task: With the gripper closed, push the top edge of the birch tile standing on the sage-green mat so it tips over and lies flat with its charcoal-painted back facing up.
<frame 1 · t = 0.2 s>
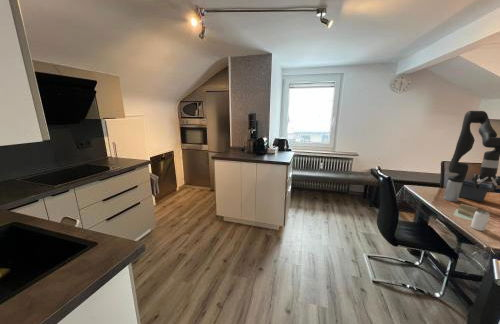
hand: (484, 190, 142), 22 cm above the table, tool pointing down, fingers open, 8 cm apart
tile: (466, 214, 153), point 1 cm above the table, touching mat
mat: (465, 215, 152), on the table
can: (477, 228, 136), on the table
storage bin: (469, 197, 184), on the table
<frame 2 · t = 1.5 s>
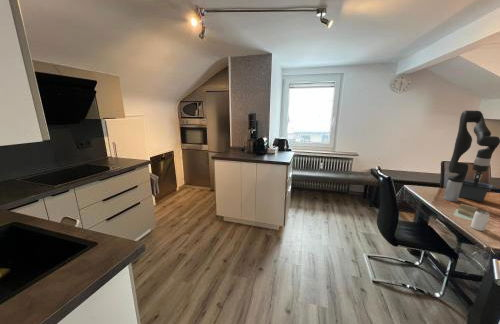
hand: (474, 186, 151), 21 cm above the table, tool pointing down, fingers open, 3 cm apart
nothing on the table moved.
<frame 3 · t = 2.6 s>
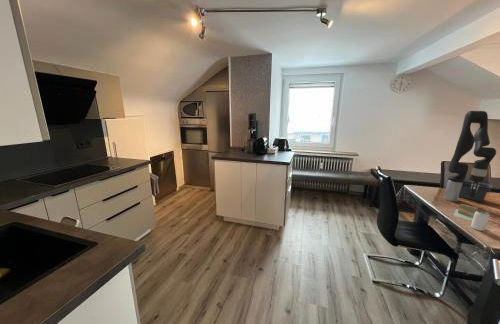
hand: (471, 196, 153), 13 cm above the table, tool pointing down, fingers closed
nothing on the table moved.
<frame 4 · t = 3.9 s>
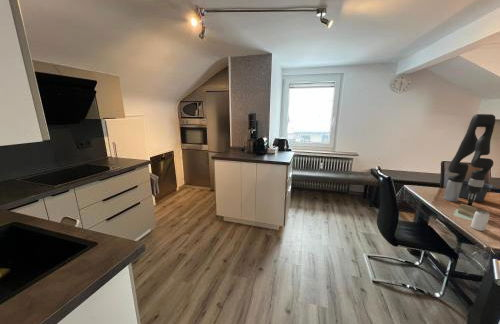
hand: (469, 206, 154), 6 cm above the table, tool pointing down, fingers closed
nothing on the table moved.
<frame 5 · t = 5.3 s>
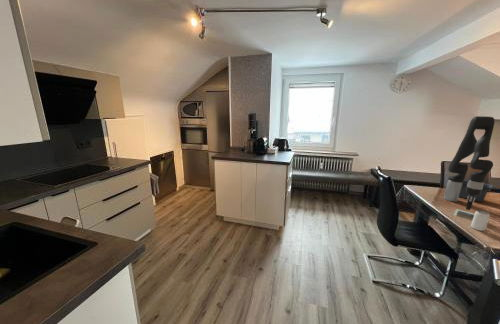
hand: (467, 209, 150), 6 cm above the table, tool pointing down, fingers closed
tile: (466, 214, 152), point 1 cm above the table, tilted 90°, touching mat
everything else where it was.
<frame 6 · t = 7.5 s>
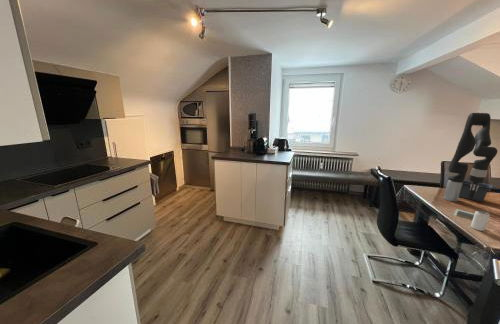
hand: (470, 198, 147), 15 cm above the table, tool pointing down, fingers closed
nothing on the table moved.
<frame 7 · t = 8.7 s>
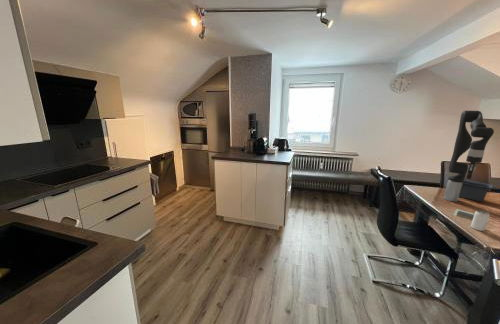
hand: (468, 178, 151), 27 cm above the table, tool pointing down, fingers closed
nothing on the table moved.
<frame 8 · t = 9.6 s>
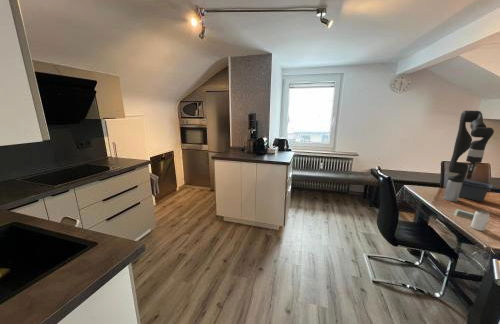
hand: (468, 178, 151), 27 cm above the table, tool pointing down, fingers closed
nothing on the table moved.
at the end: tile tilted 90°; tile inside the target area on the mat (0.6 cm from its centre), point 1.4 cm above the mat's base; the gripper is holding nothing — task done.
